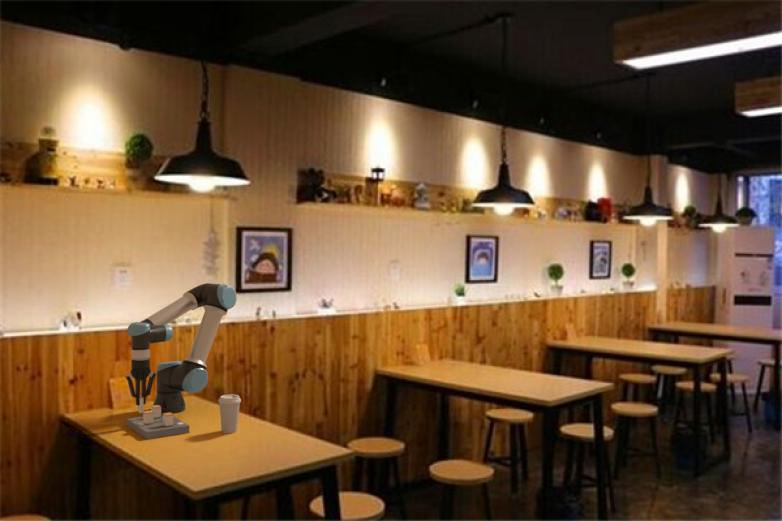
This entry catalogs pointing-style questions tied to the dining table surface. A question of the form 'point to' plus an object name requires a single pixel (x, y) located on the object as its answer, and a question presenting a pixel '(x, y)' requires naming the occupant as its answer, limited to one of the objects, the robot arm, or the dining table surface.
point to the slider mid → (148, 417)
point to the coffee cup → (229, 412)
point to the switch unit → (157, 427)
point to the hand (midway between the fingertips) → (140, 412)
